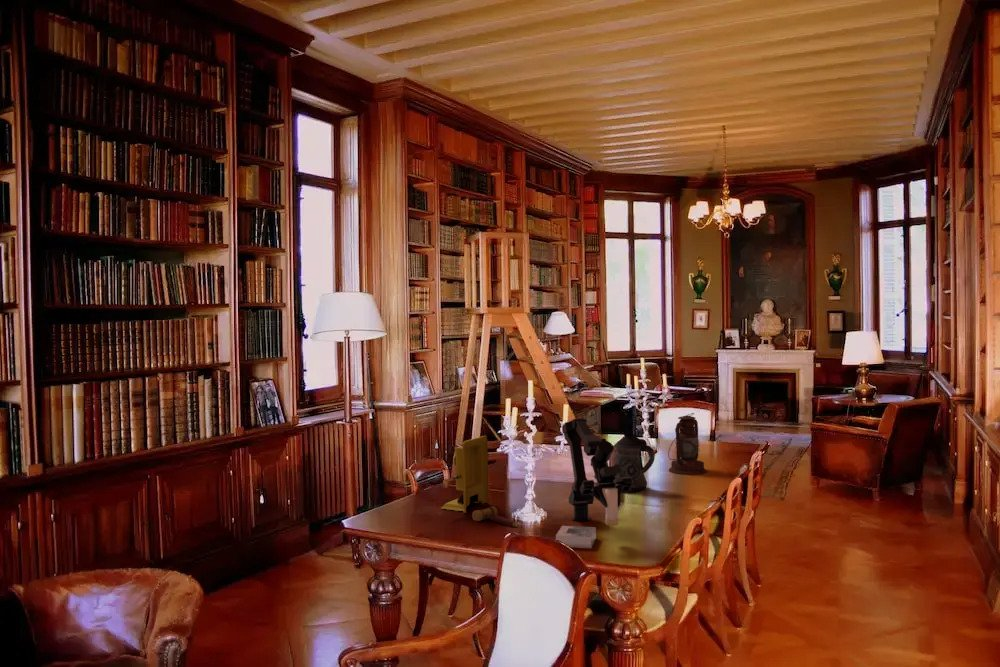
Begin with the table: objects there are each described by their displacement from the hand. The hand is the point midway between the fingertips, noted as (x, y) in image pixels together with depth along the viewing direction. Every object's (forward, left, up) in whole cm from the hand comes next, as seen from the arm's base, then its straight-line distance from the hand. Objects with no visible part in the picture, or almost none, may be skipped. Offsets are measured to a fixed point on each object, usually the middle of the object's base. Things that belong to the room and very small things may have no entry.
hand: (612, 506), depth 277 cm
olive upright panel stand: (-43, -68, -14) cm, 82 cm away
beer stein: (-87, -1, -14) cm, 88 cm away
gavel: (-20, -48, -14) cm, 54 cm away
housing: (0, -13, -13) cm, 19 cm away
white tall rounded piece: (-1, -1, -7) cm, 7 cm away
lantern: (-131, +23, -14) cm, 133 cm away
